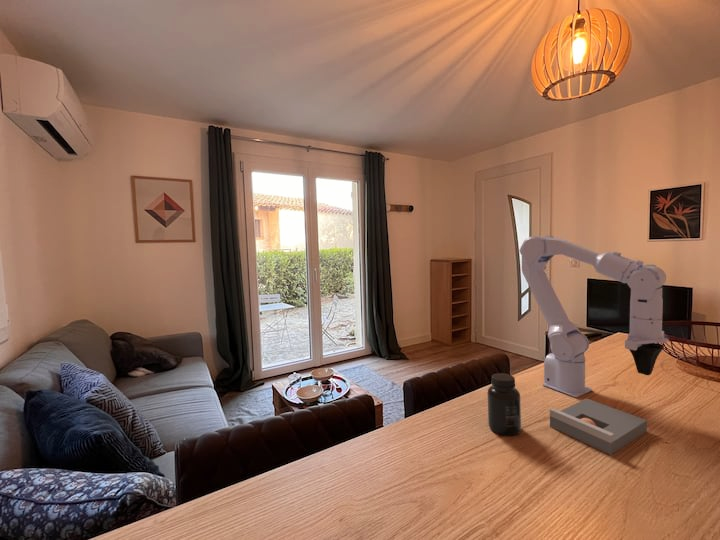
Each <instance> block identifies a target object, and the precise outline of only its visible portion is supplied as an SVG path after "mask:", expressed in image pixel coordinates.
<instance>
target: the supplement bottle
mask: <svg viewBox="0 0 720 540" xmlns="http://www.w3.org/2000/svg"><path fill="white" fill-rule="evenodd" d="M521 406H522V405H521V393H520V392H519V390H518V388H516V380H515V376H513V375H511V374H509V373H503V372H498V373H493V374H492V375H491V385H490V386H489V387H488V389H487V418H488V419H487V421H488V426H489V429H490V430H491V431H492V432H494V433H495V432H496V434H498V435H502V436H507V437H513V436H517V435H519V434H520V432H522V431H521V429H522V411H521V409H522V408H521Z"/></svg>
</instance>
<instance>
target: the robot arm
mask: <svg viewBox="0 0 720 540" xmlns="http://www.w3.org/2000/svg"><path fill="white" fill-rule="evenodd" d="M519 253H520V255H521V273H522V274H523V276H524V279H525V280H526V283H527V284H528V286H529V289H530V291H531V292H532V293H531V294H532V295H533V297H534V299H535V301H536V303H537V305H538V307H539V310H540V311H541V313H542V315H543V317H544V320H545V322H546V323H547V325H548V332H547V333H548V334H547V338H548V339H549V342H550V343H549V344H550V345H549V346H550V351H551V352H550V353H548V354H547V355H546V356H545V359H544V363H543V383H542V386H544V387H546V388H550V389H552V390H554V391H558V392H560V393H563V394H565V395H568V396H570V397H572V398H573V397H574V398H579V397H581V396H583V395H585V394H587V393H589V392H592V391H593V388H592V387H589V386H586V356H585V353H586V352H587V351H588V350H589V348H590V342H589V340H588V338H587V336H586V335H585V334H584V333H582V331H580V329H579V327H578V325H577V324H574V323H573V322H572V321H571V320H570V319H569V317H568V315H567V313H566V310H565V309H564V307H563V305H562V304H561V300H560V299H559V297H558V295H557V293H556V292H555V290H554V288H553V286H552V283H551V282H550V280H549V277H548V276H547V274H546V273H545V268H546V267H547V264H548V263H549V261H551V260H552V258H553V257H554V256H557V255H561V256H566V257H569V258H571V259H574V260H577V261H579V262H583V263H584V264H588V265H591V266H593V268H594V269H595V272H596V273H598V274H601V275H603V276H605V277H608V278H609V279H613V280H614V281H615V280H616V281H618V282H620V283H622V284H627V286H628V287H629V289H630V297H629V298H630V299H629V300H630V301H629V333H628V335H627V338H626V339H625V340H624V349H626V350H629V352H630V353H631V355H632V357H633V361H634V363H635V368H636V370H637V373H638V374H641V375H645V376H651V375H652V372H653V370H654V367H655V364H656V361H657V359H658V357H659V355H660V354H661V352H662V351H663V350H664V348H665V346H664V345H663V343H664V344H666V343H668V342H669V338H666V337H665V331H664V330H663V303H664V302H663V301H664V300H663V287H662V286H663V285H665V283H666V281H667V275H666V272H665V271H664V270H663V269H662V268H660V267H659V266H656V265H655V264H645V265H644V263H645V262H644V261H643V260H640V259H639V260H633V259H630V258H628V257H624V256H622V253H621V252H619V251H613V252H610V251H606V252H603V253H599V252H596V251H594V250H591V249H589V248H586V247H583V246H581V245H579V244H576V243H574V242H571V241H569V240H566V239H564V238H561V237H560V238H559V237H554V236H552V235H543V236H540V235H539V236H535V235H534V236H533V235H532V236H528V237H527V238H525V239H524V240H523V242H522V244H521V246H520V249H519ZM661 343H662V344H661Z"/></svg>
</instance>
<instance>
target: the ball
mask: <svg viewBox="0 0 720 540" xmlns="http://www.w3.org/2000/svg"><path fill="white" fill-rule="evenodd" d="M580 420H583V421H585V422H587V423H590V424H592V425H594V426H596V424H595V423H594V422H593V421H592V420H591V419H588V418H582V419H580Z"/></svg>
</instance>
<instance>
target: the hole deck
mask: <svg viewBox="0 0 720 540" xmlns="http://www.w3.org/2000/svg"><path fill="white" fill-rule="evenodd" d="M582 418H588V419H591V420H592V421H593V422H594V423H595V424H596V426H594V425H592V424H590V423H587V422H585V421H583V420H580V419H582ZM549 427H550V428H553V429H555V430H557V431H558V432H560V433H563V434H565V435H567V436H569V437H571V438H573V439H576V440H578V441H580V442H582V443H584V444H586V445H588V446H590V447H592V448H594V449H596V450H598V451H601V452H602V453H605V454H607V455H609V456H612V455H613V454H615V453H616V452H618V451H620V450H621V449H622V448H624V447H626V446H627V445H629V444H630V443H631V442H633V441H635V440H636V439H638V438H639V437H640V436H642V435H643V434H645V433H647V431H648V420H647V419H645V418H642V417H639V416H638V415H634V414H631V413H628V412H625V411H622V410H620V409H618V408H617V409H616V408H614V407H611V406H609V405H606V404H604V403H600V402H597V401H596V400H593V399H589V398H585V399H582V400H580V401H578V402H575V403H574V404H571V405H569V406H567V407H565V408H563V409H562V410H559V409H556V408H555V407H552V408H550V409H549Z"/></svg>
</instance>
